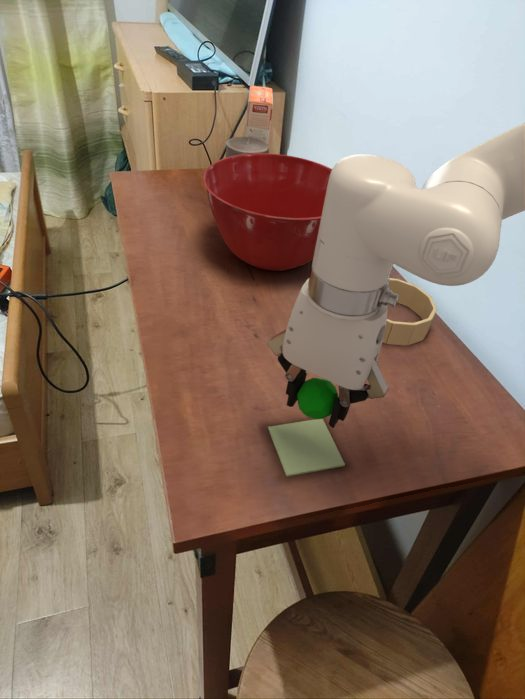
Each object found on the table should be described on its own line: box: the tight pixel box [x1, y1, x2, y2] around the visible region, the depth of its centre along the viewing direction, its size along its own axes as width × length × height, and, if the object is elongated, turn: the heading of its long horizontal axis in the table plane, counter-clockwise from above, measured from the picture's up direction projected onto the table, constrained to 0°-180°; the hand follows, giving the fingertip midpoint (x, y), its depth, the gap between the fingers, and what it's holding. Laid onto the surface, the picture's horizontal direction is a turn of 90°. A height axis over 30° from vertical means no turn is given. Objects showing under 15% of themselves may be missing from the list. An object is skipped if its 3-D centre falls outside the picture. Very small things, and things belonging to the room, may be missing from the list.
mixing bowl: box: [202, 152, 333, 272], centre depth 100 cm, size 28×28×16 cm
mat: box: [267, 418, 346, 478], centre depth 67 cm, size 8×8×1 cm
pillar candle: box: [225, 136, 270, 158], centre depth 117 cm, size 10×10×15 cm
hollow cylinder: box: [382, 277, 438, 347], centre depth 90 cm, size 14×14×4 cm
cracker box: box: [244, 85, 274, 145], centre depth 126 cm, size 14×6×21 cm, turn 179°
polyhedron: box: [297, 377, 339, 420], centre depth 61 cm, size 5×5×5 cm
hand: (314, 408), depth 63 cm, fingers closed on polyhedron, 5 cm apart
